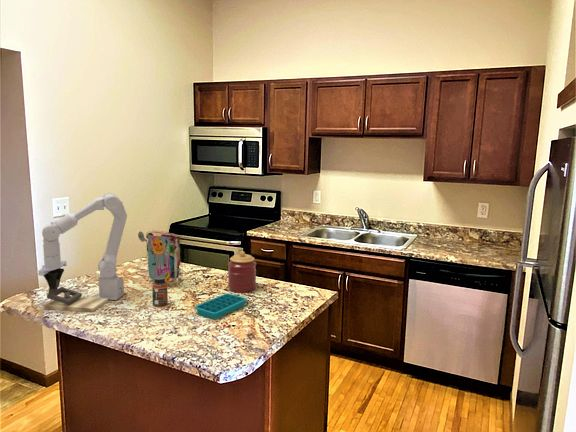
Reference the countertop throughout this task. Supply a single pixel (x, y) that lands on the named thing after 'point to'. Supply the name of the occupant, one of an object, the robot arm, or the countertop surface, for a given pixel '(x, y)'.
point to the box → (163, 255)
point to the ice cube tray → (220, 305)
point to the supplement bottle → (159, 292)
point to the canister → (242, 273)
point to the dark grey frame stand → (55, 292)
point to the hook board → (78, 304)
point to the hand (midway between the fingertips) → (54, 287)
